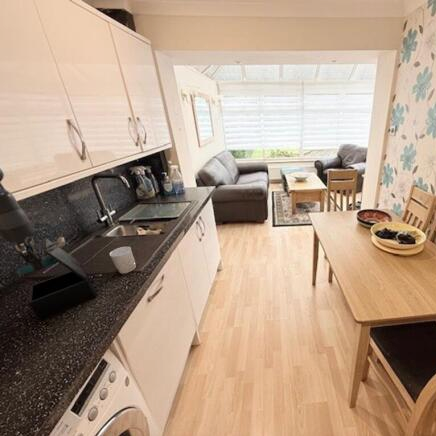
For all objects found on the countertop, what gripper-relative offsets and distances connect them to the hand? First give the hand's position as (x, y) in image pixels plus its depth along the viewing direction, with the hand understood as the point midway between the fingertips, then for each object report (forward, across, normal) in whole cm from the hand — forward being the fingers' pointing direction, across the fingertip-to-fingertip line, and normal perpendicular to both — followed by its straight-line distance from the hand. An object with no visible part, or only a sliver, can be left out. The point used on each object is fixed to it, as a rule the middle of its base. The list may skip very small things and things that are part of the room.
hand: (39, 267), depth 83 cm
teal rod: (0, 0, 0) cm, 1 cm away
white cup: (+18, -6, +23) cm, 30 cm away
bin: (+17, -1, +2) cm, 17 cm away
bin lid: (+1, -1, +6) cm, 7 cm away
